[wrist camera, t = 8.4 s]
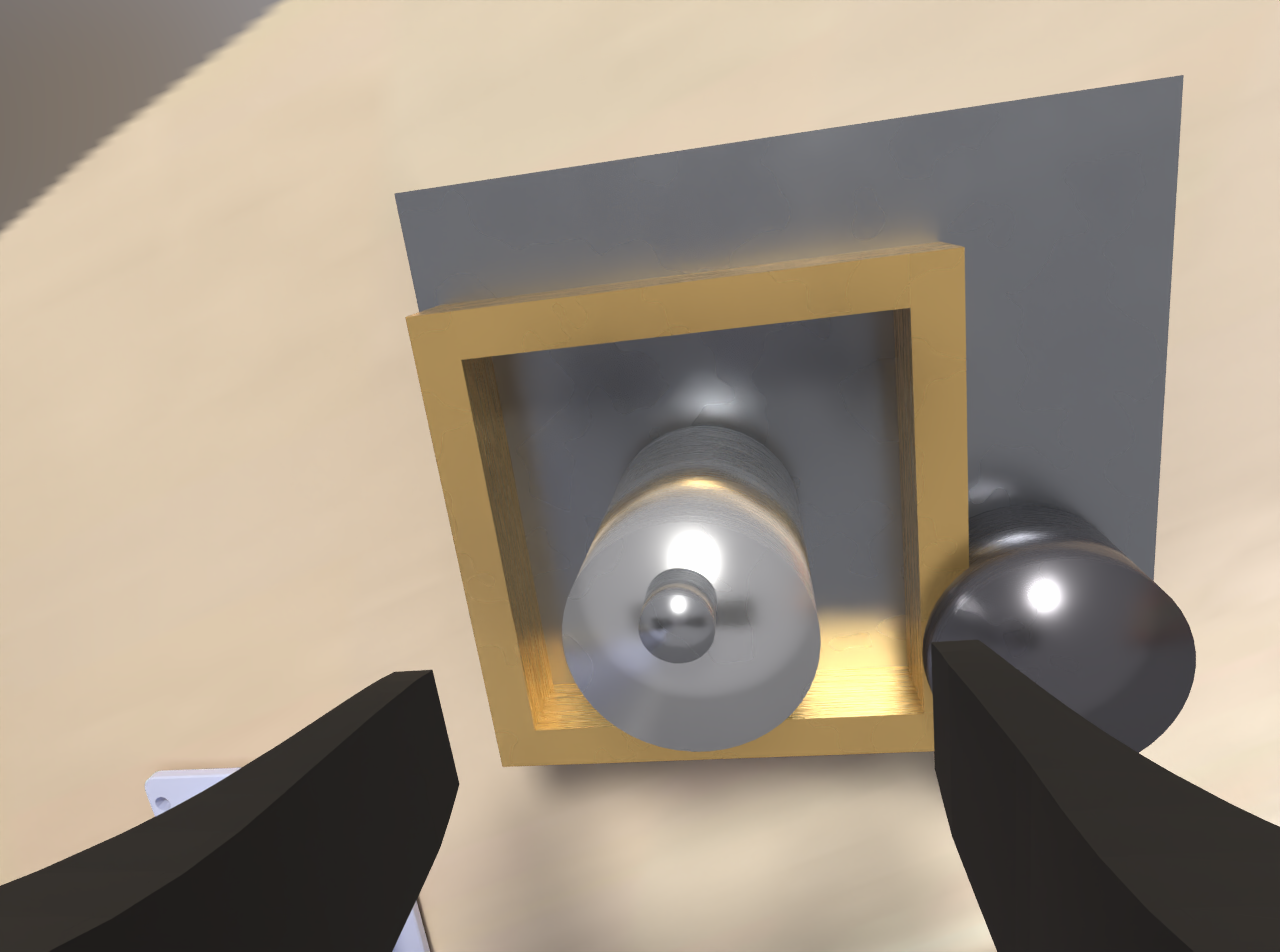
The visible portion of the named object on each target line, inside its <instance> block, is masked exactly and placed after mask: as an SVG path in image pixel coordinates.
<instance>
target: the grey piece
mask: <svg viewBox="0 0 1280 952" xmlns="http://www.w3.org/2000/svg"><path fill="white" fill-rule="evenodd" d="M1182 90H1183V75H1181V76H1174V77H1168V78H1161V79H1155V80H1148V81H1141V82H1135V83H1128V84H1121V85H1115V86H1108V87H1101V88H1095V89H1088V90H1081V91H1075V92H1068V93H1061V94H1055V95H1048V96H1041V97H1035V98H1028V99H1021V100H1015V101H1008V102H1001V103H995V104H988V105H982V106H975V107H968V108H962V109H955V110H948V111H942V112H935V113H928V114H922V115H915V116H908V117H902V118H895V119H888V120H882V121H875V122H868V123H862V124H855V125H848V126H842V127H835V128H828V129H822V130H815V131H808V132H802V133H795V134H789V135H782V136H775V137H769V138H762V139H755V140H749V141H742V142H735V143H729V144H722V145H715V146H709V147H702V148H695V149H689V150H682V151H675V152H669V153H662V154H655V155H649V156H642V157H635V158H629V159H622V160H615V161H609V162H602V163H596V164H589V165H582V166H576V167H569V168H562V169H556V170H549V171H542V172H536V173H529V174H522V175H516V176H509V177H502V178H496V179H489V180H482V181H476V182H469V183H462V184H456V185H449V186H442V187H436V188H429V189H422V190H416V191H409V192H403V193H396V194H395V199H396V204H397V208H398V213H399V218H400V223H401V227H402V232H403V237H404V241H405V246H406V251H407V256H408V260H409V265H410V270H411V275H412V279H413V284H414V289H415V294H416V298H417V303H418V308H419V313H416V314H413V315H410V316H407V317H405V318H406V322H407V327H408V332H409V336H410V341H411V346H412V350H413V355H414V359H415V364H416V369H417V373H418V378H419V383H420V387H421V392H422V396H423V401H424V406H425V410H426V415H427V420H428V424H429V429H430V433H431V438H432V443H433V447H434V452H435V457H436V461H437V466H438V470H439V475H440V480H441V484H442V489H443V494H444V498H445V503H446V507H447V512H448V517H449V521H450V526H451V531H452V535H453V540H454V544H455V549H456V554H457V558H458V563H459V568H460V572H461V577H462V581H463V586H464V591H465V595H466V600H467V605H468V609H469V614H470V618H471V623H472V628H473V632H474V637H475V642H476V646H477V651H478V655H479V660H480V665H481V669H482V674H483V679H484V683H485V688H486V692H487V697H488V702H489V706H490V711H491V716H492V720H493V725H494V729H495V734H496V739H497V743H498V748H499V753H500V757H501V762H502V766H503V767H510V766H537V765H565V764H593V763H621V762H649V761H677V760H704V759H732V758H760V757H788V756H816V755H844V754H872V753H899V752H927V751H934V722H933V689H932V656H931V642H941V641H959V640H977V639H978V640H980V641H981V642H982V643H984V644H985V645H986V646H988V647H989V648H991V649H992V650H993V651H994V652H996V653H997V654H998V655H1000V656H1001V657H1002V658H1004V659H1005V660H1006V661H1007V662H1009V663H1010V664H1011V665H1013V666H1014V667H1015V668H1016V669H1018V670H1019V671H1020V672H1022V673H1023V674H1024V675H1026V676H1027V677H1028V678H1030V679H1031V680H1032V681H1034V682H1035V683H1036V684H1038V685H1039V686H1040V687H1042V688H1043V689H1044V690H1046V691H1047V692H1048V693H1050V694H1051V695H1052V696H1054V697H1055V698H1057V699H1058V700H1059V701H1061V702H1062V703H1064V704H1065V705H1066V706H1068V707H1069V708H1071V709H1072V710H1073V711H1075V712H1076V713H1078V714H1079V715H1081V716H1082V717H1083V718H1085V719H1086V720H1088V721H1089V722H1091V723H1092V724H1094V725H1095V726H1097V727H1098V728H1100V729H1101V730H1103V731H1104V732H1106V733H1107V734H1109V735H1111V736H1112V737H1114V738H1115V739H1117V740H1119V741H1120V742H1122V743H1123V744H1125V745H1127V746H1128V747H1130V748H1131V749H1133V750H1135V751H1136V752H1138V753H1139V752H1140V751H1142V750H1143V749H1145V748H1146V747H1148V746H1149V745H1150V744H1152V743H1153V742H1154V741H1155V740H1156V739H1157V738H1158V737H1160V736H1161V735H1162V734H1163V733H1164V732H1165V731H1166V730H1167V728H1168V727H1169V726H1170V725H1171V724H1172V723H1173V722H1174V720H1175V719H1176V717H1177V716H1178V714H1179V713H1180V711H1181V710H1182V708H1183V706H1184V704H1185V702H1186V700H1187V698H1188V696H1189V693H1190V690H1191V687H1192V684H1193V680H1194V674H1195V668H1196V651H1195V645H1194V640H1193V636H1192V633H1191V630H1190V627H1189V624H1188V622H1187V620H1186V619H1185V617H1184V615H1183V613H1182V611H1181V610H1180V609H1179V607H1178V606H1177V605H1176V603H1175V602H1174V601H1173V600H1172V598H1171V597H1169V596H1168V595H1167V594H1166V593H1165V592H1164V591H1163V590H1162V589H1161V588H1160V587H1159V586H1158V585H1157V584H1156V583H1155V582H1154V581H1153V579H1154V562H1155V545H1156V528H1157V512H1158V495H1159V478H1160V461H1161V444H1162V427H1163V410H1164V394H1165V377H1166V360H1167V343H1168V326H1169V309H1170V292H1171V275H1172V259H1173V242H1174V225H1175V208H1176V191H1177V174H1178V157H1179V141H1180V124H1181V107H1182ZM695 426H716V427H722V428H728V429H731V430H734V431H738V432H741V433H743V434H745V435H747V436H749V437H752V438H753V439H755V440H757V441H758V442H760V443H761V444H763V445H764V446H765V447H766V448H768V449H769V450H770V451H771V452H772V453H773V454H774V455H775V456H776V457H777V458H778V459H779V460H780V461H781V463H782V464H783V466H784V467H785V468H786V470H787V471H788V473H789V475H790V477H791V479H792V481H793V484H794V487H795V489H796V492H797V497H798V502H799V508H800V513H801V519H802V525H803V531H804V537H805V543H806V549H807V555H808V561H809V567H810V573H811V579H812V585H813V591H814V597H815V603H816V609H817V615H818V621H819V627H820V639H821V648H820V659H819V663H818V667H817V671H816V675H815V677H814V680H813V682H812V685H811V687H810V689H809V691H808V692H807V694H806V696H805V697H804V699H803V701H802V702H801V703H800V705H799V706H798V707H797V708H796V709H795V711H794V712H793V713H792V714H791V715H790V716H789V717H788V718H787V719H786V720H784V721H783V722H782V723H781V724H780V725H778V726H777V727H776V728H774V729H773V730H771V731H770V732H768V733H767V734H765V735H763V736H761V737H759V738H757V739H755V740H753V741H750V742H748V743H745V744H742V745H740V746H736V747H732V748H728V749H723V750H715V751H702V752H691V751H680V750H673V749H668V748H663V747H659V746H656V745H653V744H650V743H647V742H644V741H642V740H640V739H637V738H635V737H633V736H631V735H629V734H627V733H626V732H624V731H622V730H620V729H619V728H617V727H616V726H614V725H613V724H612V723H610V722H609V721H608V720H606V719H605V718H604V717H603V716H602V715H601V714H600V713H599V712H598V711H597V710H596V709H594V708H593V706H592V705H591V704H590V703H589V702H588V700H587V699H586V698H585V697H584V696H583V694H582V692H581V691H580V689H579V688H578V686H577V684H576V683H575V681H574V679H573V676H572V674H571V672H570V670H569V667H568V664H567V661H566V657H565V654H564V648H563V641H562V622H563V615H564V609H565V605H566V602H567V598H568V596H569V593H570V591H571V589H572V587H573V584H574V582H575V580H576V578H577V575H578V573H579V571H580V569H581V567H582V564H583V562H584V560H585V558H586V555H587V553H588V551H589V549H590V547H591V544H592V542H593V540H594V538H595V535H596V533H597V531H598V529H599V526H600V524H601V522H602V520H603V518H604V515H605V513H606V511H607V509H608V506H609V504H610V502H611V500H612V498H613V495H614V493H615V491H616V489H617V486H618V484H619V482H620V480H621V478H622V475H623V473H624V471H625V470H626V468H627V466H628V465H629V463H630V462H631V461H632V460H633V458H634V457H635V456H636V455H637V454H638V453H639V452H640V451H641V450H642V449H643V448H644V447H645V446H647V445H648V444H649V443H651V442H652V441H654V440H655V439H657V438H659V437H661V436H663V435H665V434H667V433H670V432H673V431H675V430H678V429H683V428H688V427H695Z"/></svg>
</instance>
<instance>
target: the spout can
mask: <svg viewBox="0 0 1280 952" xmlns="http://www.w3.org/2000/svg"><path fill="white" fill-rule="evenodd" d="M562 641H563V648H564V654H565V657H566V661H567V664H568V667H569V670H570V672H571V674H572V676H573V679H574V681H575V683H576V684H577V686H578V688H579V689H580V691H581V692H582V694H583V696H584V697H585V698H586V699H587V700H588V702H589V703H590V704H591V705H592V706H593V708H594V709H596V710H597V711H598V712H599V713H600V714H601V715H602V716H603V717H604V718H605V719H606V720H608V721H609V722H610V723H612V724H613V725H614V726H616V727H617V728H619V729H620V730H622V731H624V732H626V733H627V734H629V735H631V736H633V737H635V738H637V739H640V740H642V741H644V742H647V743H650V744H653V745H656V746H659V747H663V748H668V749H673V750H680V751H691V752H702V751H715V750H723V749H728V748H732V747H736V746H740V745H742V744H745V743H748V742H750V741H753V740H755V739H757V738H759V737H761V736H763V735H765V734H767V733H768V732H770V731H771V730H773V729H774V728H776V727H777V726H778V725H780V724H781V723H782V722H783V721H784V720H786V719H787V718H788V717H789V716H790V715H791V714H792V713H793V712H794V711H795V709H796V708H797V707H798V706H799V705H800V703H801V702H802V701H803V699H804V697H805V696H806V694H807V692H808V691H809V689H810V687H811V685H812V682H813V680H814V677H815V675H816V671H817V667H818V663H819V659H820V648H821V639H820V627H819V621H818V615H817V609H816V603H815V597H814V591H813V585H812V579H811V573H810V567H809V561H808V555H807V549H806V543H805V537H804V531H803V525H802V519H801V513H800V508H799V502H798V497H797V492H796V489H795V487H794V484H793V481H792V479H791V477H790V475H789V473H788V471H787V470H786V468H785V467H784V466H783V464H782V463H781V461H780V460H779V459H778V458H777V457H776V456H775V455H774V454H773V453H772V452H771V451H770V450H769V449H768V448H766V447H765V446H764V445H763V444H761V443H760V442H758V441H757V440H755V439H753V438H752V437H749V436H747V435H745V434H743V433H741V432H738V431H734V430H731V429H728V428H722V427H716V426H695V427H688V428H683V429H678V430H675V431H673V432H670V433H667V434H665V435H663V436H661V437H659V438H657V439H655V440H654V441H652V442H651V443H649V444H648V445H647V446H645V447H644V448H643V449H642V450H641V451H640V452H639V453H638V454H637V455H636V456H635V457H634V458H633V460H632V461H631V462H630V463H629V465H628V466H627V468H626V470H625V471H624V473H623V475H622V478H621V480H620V482H619V484H618V486H617V489H616V491H615V493H614V495H613V498H612V500H611V502H610V504H609V506H608V509H607V511H606V513H605V515H604V518H603V520H602V522H601V524H600V526H599V529H598V531H597V533H596V535H595V538H594V540H593V542H592V544H591V547H590V549H589V551H588V553H587V555H586V558H585V560H584V562H583V564H582V567H581V569H580V571H579V573H578V575H577V578H576V580H575V582H574V584H573V587H572V589H571V591H570V593H569V596H568V598H567V602H566V605H565V609H564V615H563V622H562Z"/></svg>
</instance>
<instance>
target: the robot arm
mask: <svg viewBox="0 0 1280 952" xmlns="http://www.w3.org/2000/svg"><path fill="white" fill-rule="evenodd" d="M931 656H932V689H933V722H934V755H935V771H936V775H937V779H938V783H939V787H940V791H941V795H942V799H943V803H944V807H945V811H946V815H947V818H948V822H949V826H950V830H951V834H952V837H953V840H954V842H955V845H956V848H957V850H958V853H959V855H960V858H961V861H962V863H963V866H964V868H965V871H966V873H967V876H968V879H969V881H970V884H971V886H972V889H973V891H974V894H975V896H976V899H977V901H978V904H979V907H980V909H981V912H982V914H983V917H984V919H985V922H986V924H987V927H988V929H989V932H990V934H991V937H992V939H993V942H994V944H995V947H996V950H997V952H1280V827H1279V826H1277V825H1274V824H1272V823H1270V822H1268V821H1265V820H1263V819H1261V818H1259V817H1257V816H1255V815H1253V814H1251V813H1249V812H1247V811H1244V810H1242V809H1240V808H1238V807H1236V806H1234V805H1232V804H1230V803H1228V802H1226V801H1224V800H1222V799H1220V798H1218V797H1217V796H1215V795H1213V794H1211V793H1209V792H1207V791H1205V790H1203V789H1202V788H1200V787H1198V786H1196V785H1194V784H1192V783H1190V782H1188V781H1186V780H1185V779H1183V778H1181V777H1179V776H1177V775H1175V774H1173V773H1172V772H1170V771H1168V770H1166V769H1165V768H1163V767H1161V766H1159V765H1158V764H1156V763H1154V762H1152V761H1151V760H1149V759H1147V758H1146V757H1144V756H1143V755H1141V754H1139V753H1138V752H1136V751H1135V750H1133V749H1131V748H1130V747H1128V746H1127V745H1125V744H1123V743H1122V742H1120V741H1119V740H1117V739H1115V738H1114V737H1112V736H1111V735H1109V734H1107V733H1106V732H1104V731H1103V730H1101V729H1100V728H1098V727H1097V726H1095V725H1094V724H1092V723H1091V722H1089V721H1088V720H1086V719H1085V718H1083V717H1082V716H1081V715H1079V714H1078V713H1076V712H1075V711H1073V710H1072V709H1071V708H1069V707H1068V706H1066V705H1065V704H1064V703H1062V702H1061V701H1059V700H1058V699H1057V698H1055V697H1054V696H1052V695H1051V694H1050V693H1048V692H1047V691H1046V690H1044V689H1043V688H1042V687H1040V686H1039V685H1038V684H1036V683H1035V682H1034V681H1032V680H1031V679H1030V678H1028V677H1027V676H1026V675H1024V674H1023V673H1022V672H1020V671H1019V670H1018V669H1016V668H1015V667H1014V666H1013V665H1011V664H1010V663H1009V662H1007V661H1006V660H1005V659H1004V658H1002V657H1001V656H1000V655H998V654H997V653H996V652H994V651H993V650H992V649H991V648H989V647H988V646H986V645H985V644H984V643H982V642H981V641H980V640H978V639H977V640H959V641H941V642H931ZM458 787H459V781H458V776H457V772H456V768H455V764H454V759H453V755H452V751H451V747H450V743H449V738H448V734H447V730H446V726H445V721H444V717H443V713H442V709H441V704H440V700H439V696H438V692H437V688H436V683H435V679H434V675H433V671H432V670H422V671H404V672H393V673H392V674H390V675H388V676H386V677H384V678H382V679H380V680H378V681H376V682H375V683H373V684H371V685H370V686H368V687H366V688H365V689H363V690H362V691H360V692H359V693H357V694H355V695H354V696H352V697H351V698H349V699H348V700H346V701H345V702H343V703H342V704H340V705H339V706H337V707H336V708H334V709H333V710H331V711H329V712H328V713H326V714H325V715H323V716H322V717H320V718H319V719H317V720H316V721H314V722H313V723H311V724H310V725H308V726H307V727H305V728H304V729H302V730H301V731H299V732H298V733H296V734H295V735H293V736H292V737H290V738H289V739H287V740H286V741H284V742H282V743H281V744H279V745H278V746H276V747H275V748H273V749H271V750H270V751H268V752H266V753H265V754H263V755H262V756H260V757H258V758H257V759H255V760H253V761H252V762H250V763H249V764H247V765H245V766H244V767H242V768H218V769H192V770H165V771H157V772H155V773H154V774H153V775H152V776H151V777H150V778H149V779H148V780H147V781H146V783H145V791H146V794H147V796H148V799H149V802H150V804H151V807H152V810H153V812H154V815H155V817H154V818H152V819H150V820H148V821H146V822H144V823H142V824H140V825H138V826H136V827H134V828H132V829H130V830H128V831H126V832H124V833H122V834H120V835H117V836H115V837H113V838H111V839H109V840H106V841H104V842H102V843H100V844H97V845H95V846H93V847H91V848H89V849H86V850H84V851H82V852H80V853H77V854H75V855H73V856H71V857H68V858H66V859H64V860H62V861H60V862H57V863H55V864H53V865H51V866H48V867H46V868H44V869H41V870H39V871H37V872H34V873H32V874H29V875H27V876H24V877H22V878H19V879H17V880H14V881H12V882H9V883H7V884H4V885H1V886H0V952H430V949H429V945H428V942H427V938H426V934H425V931H424V927H423V923H422V919H421V916H420V912H419V908H418V904H417V901H416V900H417V898H418V896H419V893H420V891H421V889H422V887H423V885H424V882H425V880H426V878H427V876H428V874H429V871H430V869H431V867H432V865H433V863H434V860H435V858H436V856H437V854H438V851H439V849H440V847H441V844H442V840H443V837H444V834H445V831H446V828H447V825H448V822H449V819H450V815H451V812H452V808H453V805H454V801H455V798H456V794H457V791H458Z"/></svg>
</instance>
